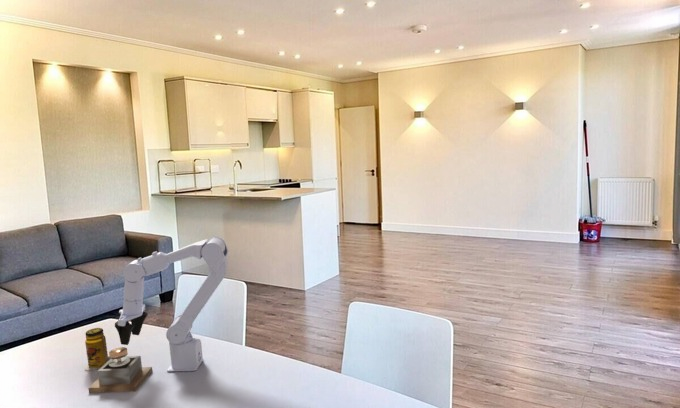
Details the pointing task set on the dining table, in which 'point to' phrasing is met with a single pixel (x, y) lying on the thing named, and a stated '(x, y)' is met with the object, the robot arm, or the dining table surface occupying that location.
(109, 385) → the base
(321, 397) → the dining table surface
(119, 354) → the plunger
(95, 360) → the condiment
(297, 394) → the dining table surface
